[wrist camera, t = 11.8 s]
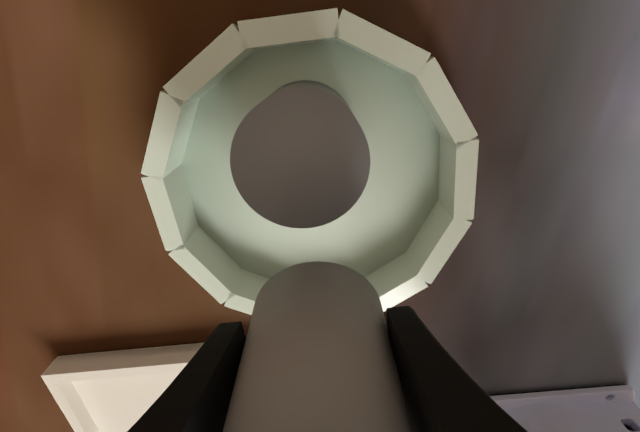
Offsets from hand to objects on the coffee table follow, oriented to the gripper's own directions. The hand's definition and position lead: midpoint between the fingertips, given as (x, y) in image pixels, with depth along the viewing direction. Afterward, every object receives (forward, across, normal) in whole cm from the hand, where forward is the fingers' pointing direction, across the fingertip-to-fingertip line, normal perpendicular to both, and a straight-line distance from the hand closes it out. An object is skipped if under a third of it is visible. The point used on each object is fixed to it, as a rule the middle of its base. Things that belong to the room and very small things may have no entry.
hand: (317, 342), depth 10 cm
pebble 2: (+1, 0, 0) cm, 1 cm away
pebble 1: (+7, 0, -4) cm, 8 cm away
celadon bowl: (+8, 0, -2) cm, 8 cm away
